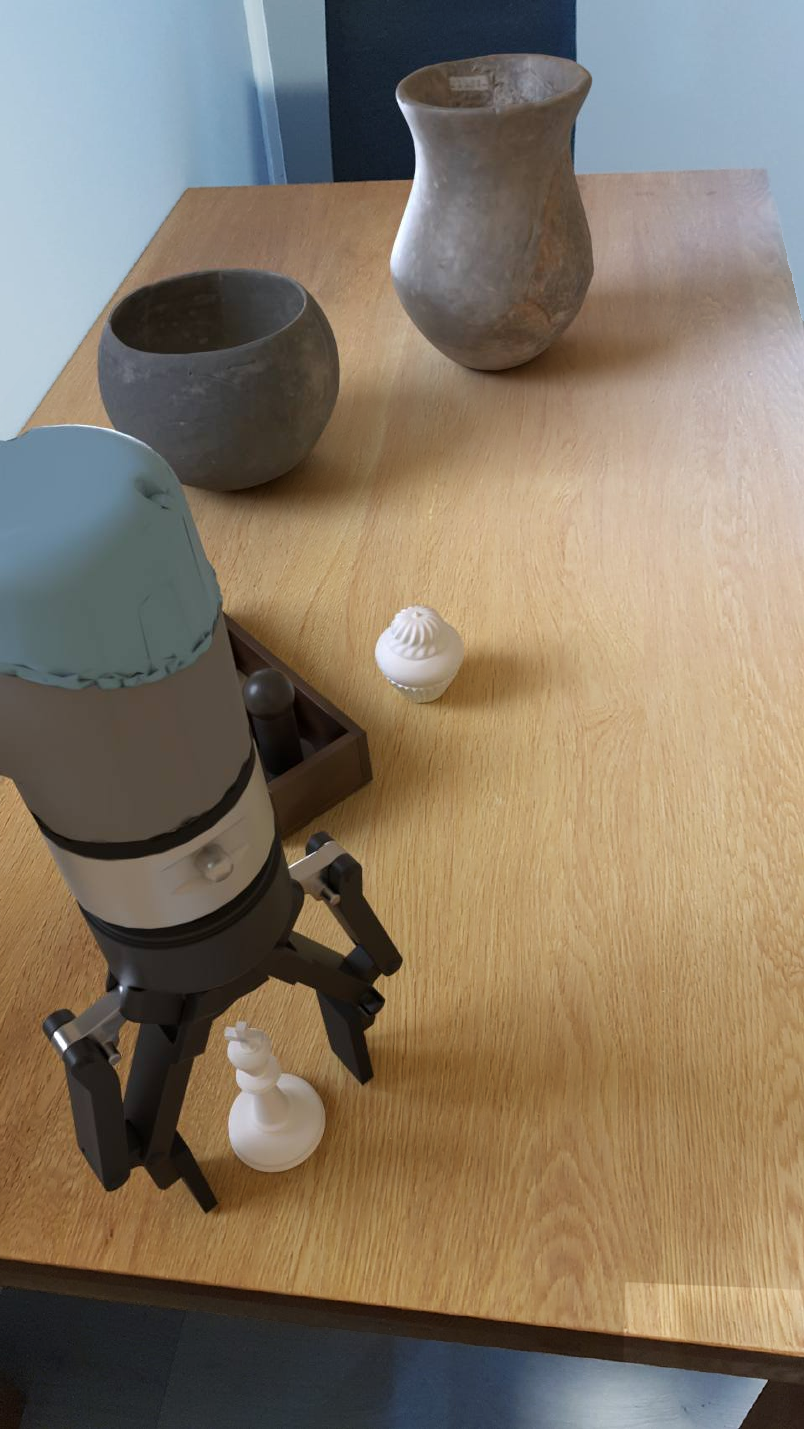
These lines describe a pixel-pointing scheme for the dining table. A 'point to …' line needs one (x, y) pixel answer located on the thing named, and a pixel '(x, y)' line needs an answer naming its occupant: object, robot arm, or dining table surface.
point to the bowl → (220, 374)
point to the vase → (493, 207)
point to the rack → (320, 723)
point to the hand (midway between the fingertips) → (277, 1122)
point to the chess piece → (270, 1106)
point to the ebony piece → (275, 722)
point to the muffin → (420, 653)
